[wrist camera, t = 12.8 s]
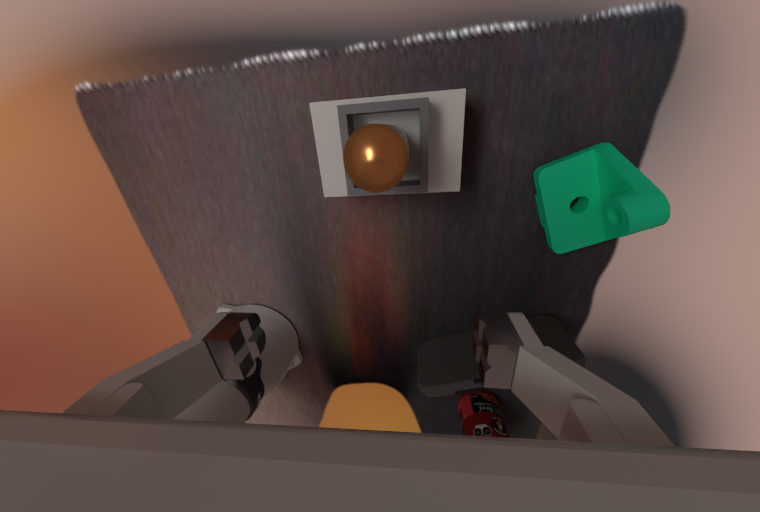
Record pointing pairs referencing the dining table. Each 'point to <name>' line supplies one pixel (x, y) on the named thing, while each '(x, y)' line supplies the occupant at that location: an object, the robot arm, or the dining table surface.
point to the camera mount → (595, 199)
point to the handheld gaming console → (460, 369)
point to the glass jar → (376, 157)
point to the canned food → (481, 415)
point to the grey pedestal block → (415, 118)
